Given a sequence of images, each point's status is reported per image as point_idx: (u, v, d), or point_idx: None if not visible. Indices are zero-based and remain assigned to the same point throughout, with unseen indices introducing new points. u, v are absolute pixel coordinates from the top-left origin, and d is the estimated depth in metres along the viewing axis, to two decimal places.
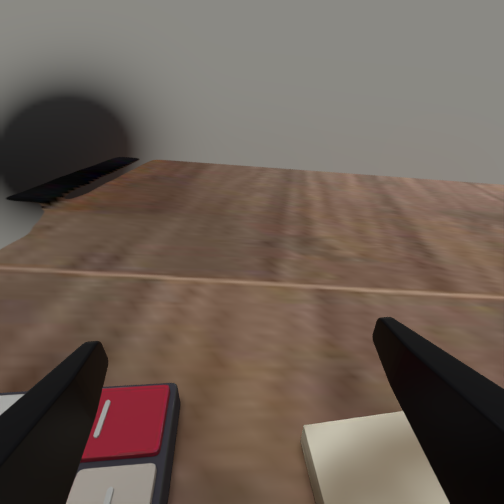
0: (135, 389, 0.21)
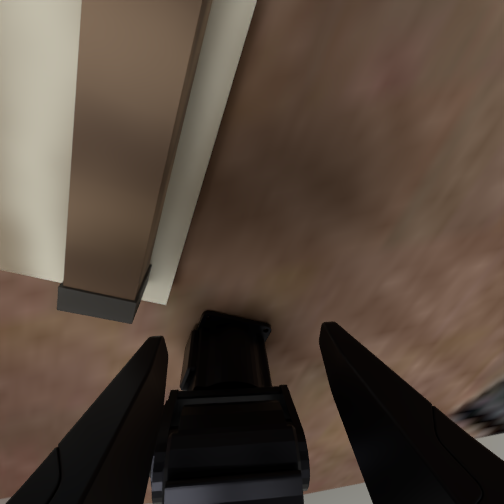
0: None
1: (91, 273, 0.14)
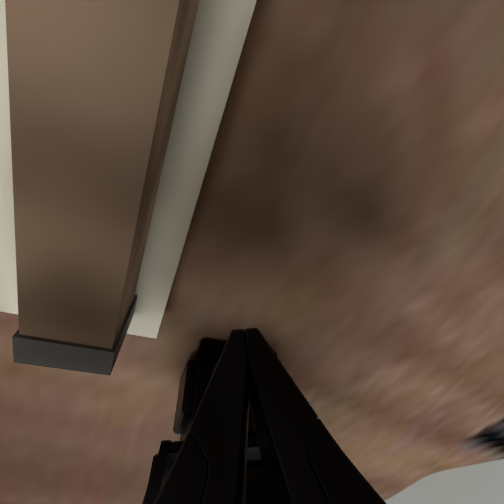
0: None
1: (54, 319, 0.11)
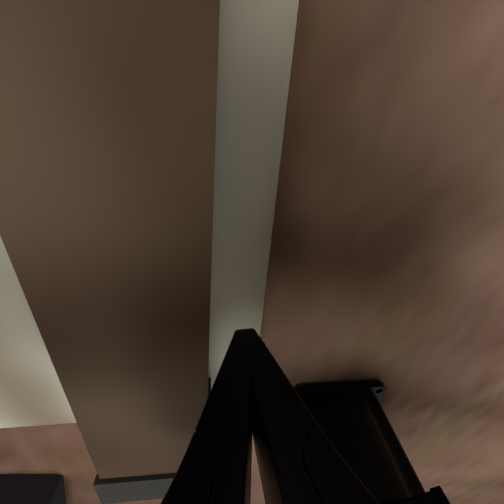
0: None
1: (134, 459, 0.09)
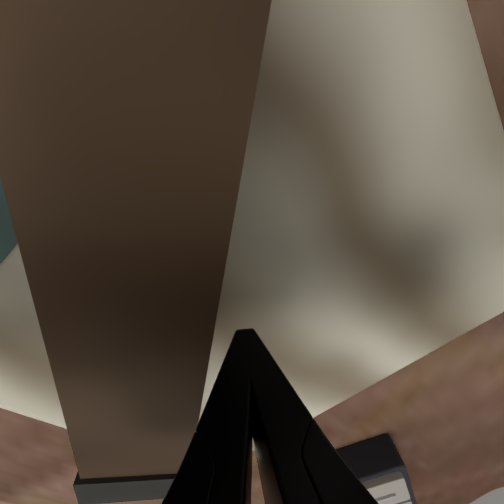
0: None
1: (119, 460, 0.09)
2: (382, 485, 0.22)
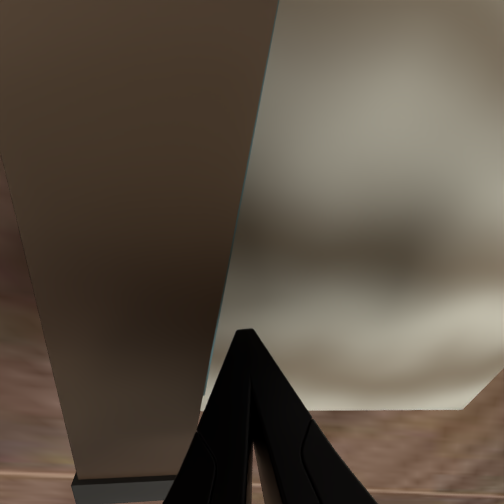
0: None
1: (117, 460, 0.09)
2: None
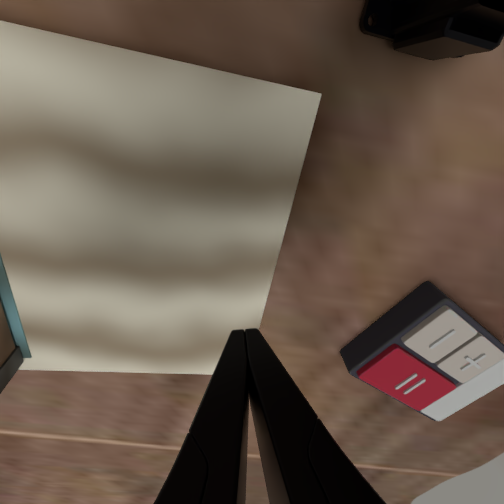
0: (377, 385, 0.26)
1: None
2: (432, 323, 0.22)
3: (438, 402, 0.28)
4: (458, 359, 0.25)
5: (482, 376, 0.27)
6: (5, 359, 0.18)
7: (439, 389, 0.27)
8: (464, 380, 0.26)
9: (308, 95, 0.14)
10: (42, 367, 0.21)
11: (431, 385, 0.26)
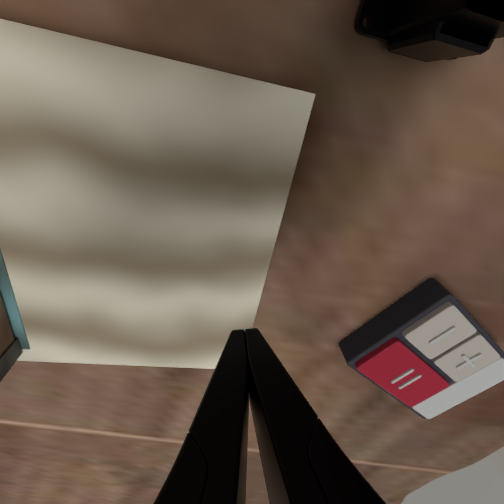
0: (373, 378, 0.26)
1: None
2: (434, 318, 0.23)
3: (430, 400, 0.29)
4: (455, 357, 0.25)
5: (475, 376, 0.27)
6: (4, 350, 0.19)
7: (433, 386, 0.27)
8: (458, 379, 0.27)
9: (302, 95, 0.14)
10: (40, 358, 0.22)
11: (426, 381, 0.27)
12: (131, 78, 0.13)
